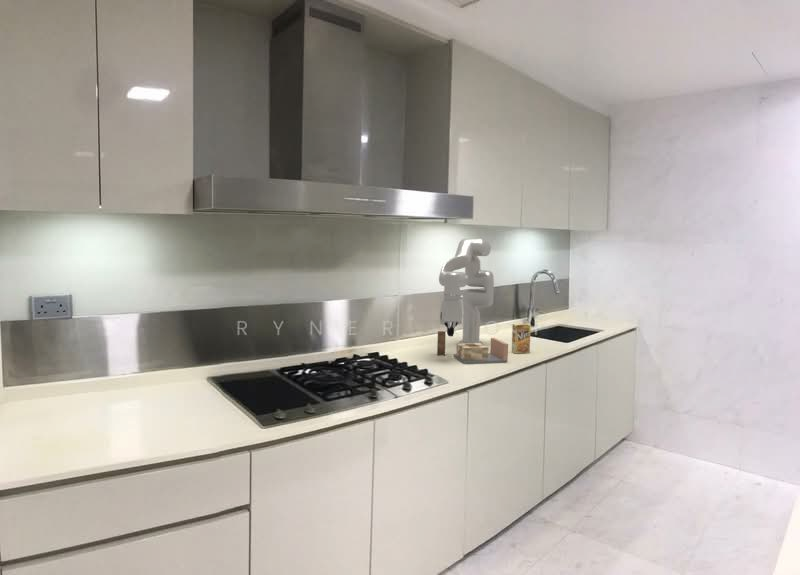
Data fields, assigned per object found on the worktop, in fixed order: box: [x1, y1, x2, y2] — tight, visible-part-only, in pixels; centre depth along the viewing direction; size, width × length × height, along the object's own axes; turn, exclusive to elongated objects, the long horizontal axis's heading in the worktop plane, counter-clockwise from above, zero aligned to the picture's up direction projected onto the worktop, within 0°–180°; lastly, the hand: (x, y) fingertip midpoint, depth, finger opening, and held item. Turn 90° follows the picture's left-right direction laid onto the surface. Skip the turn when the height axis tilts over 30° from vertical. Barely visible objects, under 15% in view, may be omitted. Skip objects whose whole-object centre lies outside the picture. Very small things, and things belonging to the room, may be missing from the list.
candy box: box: [511, 323, 531, 354], centre depth 268 cm, size 9×4×15 cm, turn 107°
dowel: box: [436, 330, 447, 356], centre depth 259 cm, size 4×4×12 cm
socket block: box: [455, 342, 489, 361], centre depth 249 cm, size 12×12×6 cm
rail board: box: [453, 337, 509, 365], centre depth 250 cm, size 16×22×9 cm
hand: (450, 335), depth 244 cm, fingers closed
